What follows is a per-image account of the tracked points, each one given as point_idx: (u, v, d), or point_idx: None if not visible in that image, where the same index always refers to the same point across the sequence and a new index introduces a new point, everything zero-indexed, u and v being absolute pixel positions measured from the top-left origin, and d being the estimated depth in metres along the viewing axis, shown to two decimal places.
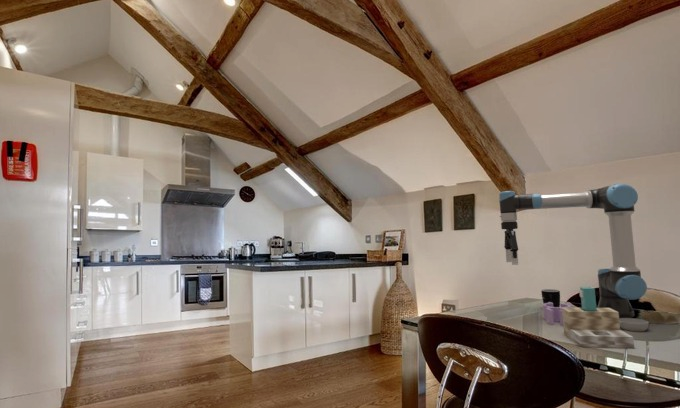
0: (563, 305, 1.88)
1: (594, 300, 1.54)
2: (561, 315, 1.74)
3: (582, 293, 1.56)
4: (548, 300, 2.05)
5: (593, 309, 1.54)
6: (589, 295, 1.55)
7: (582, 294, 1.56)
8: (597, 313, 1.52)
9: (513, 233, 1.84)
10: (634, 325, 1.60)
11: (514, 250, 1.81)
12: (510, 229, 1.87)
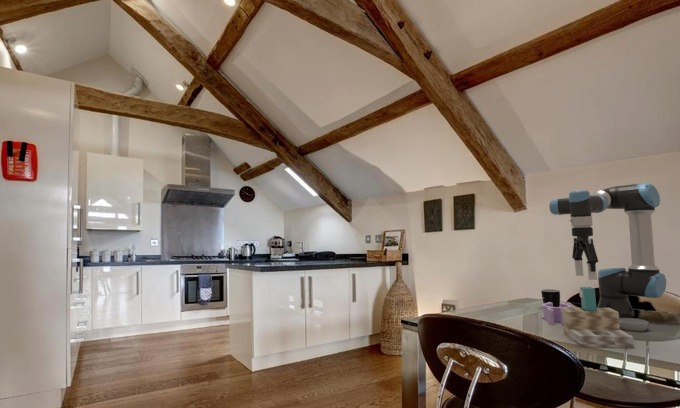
0: (563, 305, 1.88)
1: (594, 300, 1.54)
2: (562, 315, 1.74)
3: (582, 293, 1.56)
4: (548, 300, 2.05)
5: (593, 309, 1.54)
6: (589, 295, 1.55)
7: (582, 294, 1.56)
8: (597, 313, 1.52)
9: (590, 241, 1.51)
10: (634, 325, 1.60)
11: (593, 262, 1.49)
12: (585, 236, 1.55)
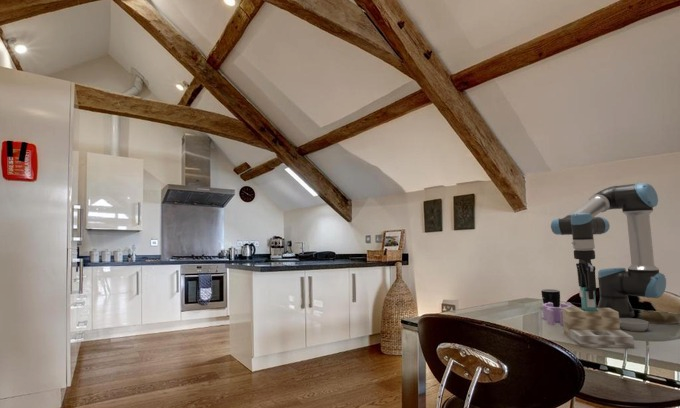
0: (563, 305, 1.87)
1: None
2: (561, 315, 1.74)
3: (582, 293, 1.56)
4: (548, 300, 2.05)
5: (593, 309, 1.54)
6: None
7: (582, 294, 1.56)
8: (597, 313, 1.52)
9: (592, 269, 1.51)
10: (634, 325, 1.60)
11: None
12: (587, 260, 1.54)
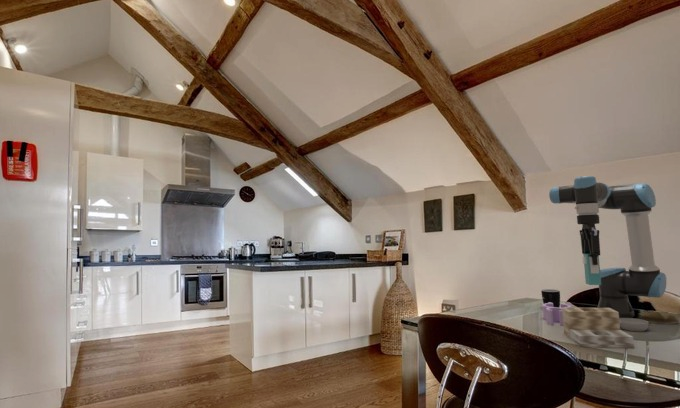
0: (563, 305, 1.87)
1: None
2: (561, 315, 1.74)
3: (585, 259, 1.50)
4: (548, 300, 2.05)
5: (597, 275, 1.48)
6: None
7: (585, 260, 1.50)
8: (597, 313, 1.52)
9: (596, 233, 1.45)
10: (634, 325, 1.60)
11: None
12: (591, 224, 1.48)
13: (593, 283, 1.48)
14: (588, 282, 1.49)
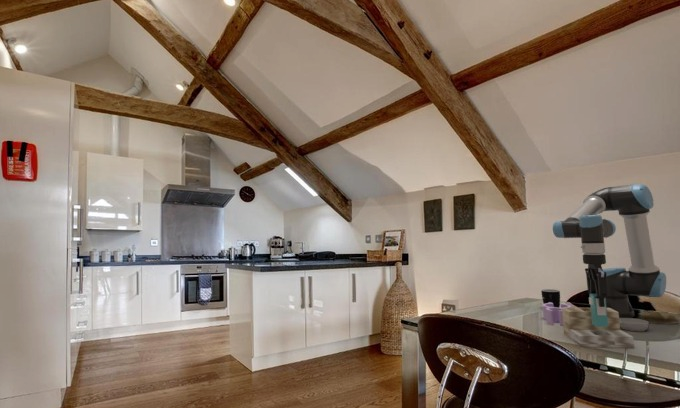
0: (563, 305, 1.87)
1: (605, 308, 1.45)
2: (560, 315, 1.73)
3: (592, 300, 1.47)
4: (548, 300, 2.05)
5: (604, 317, 1.45)
6: None
7: (592, 301, 1.47)
8: None
9: (603, 275, 1.42)
10: (634, 325, 1.60)
11: None
12: (597, 265, 1.45)
13: (600, 325, 1.45)
14: (595, 324, 1.46)
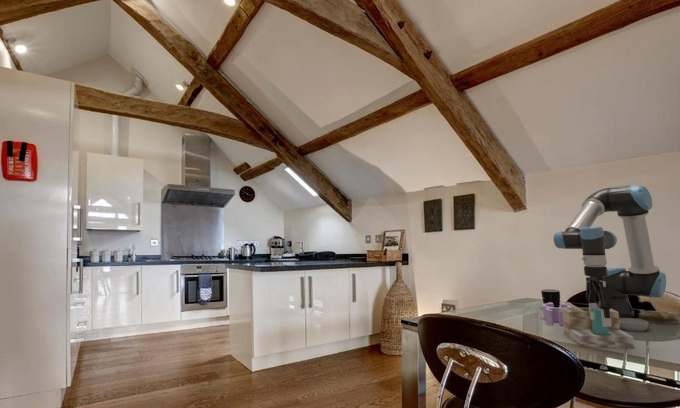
0: (563, 305, 1.87)
1: None
2: (560, 315, 1.73)
3: (593, 315, 1.46)
4: (548, 300, 2.05)
5: (605, 332, 1.44)
6: (601, 318, 1.45)
7: (593, 316, 1.46)
8: None
9: (605, 285, 1.41)
10: (634, 325, 1.60)
11: (607, 308, 1.39)
12: (599, 277, 1.44)
13: None
14: None
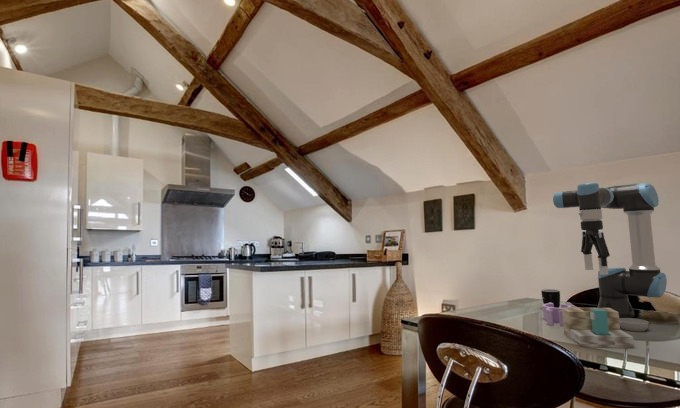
0: (563, 305, 1.86)
1: (606, 323, 1.44)
2: (560, 315, 1.73)
3: (593, 315, 1.46)
4: (548, 300, 2.05)
5: (605, 332, 1.44)
6: (601, 318, 1.45)
7: (593, 316, 1.46)
8: None
9: (601, 235, 1.47)
10: (634, 325, 1.60)
11: (604, 256, 1.45)
12: (595, 230, 1.51)
13: None
14: None
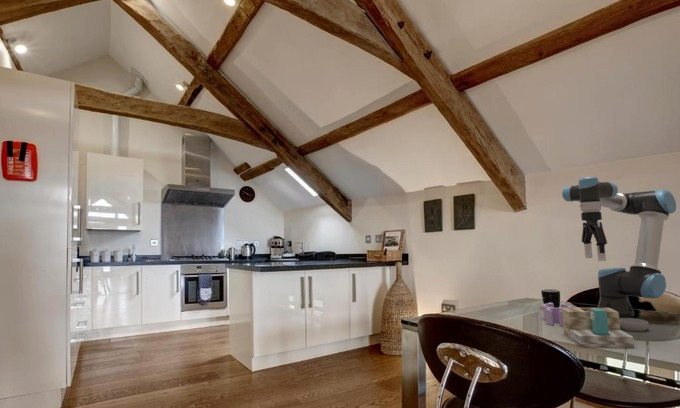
0: (563, 306, 1.86)
1: (606, 323, 1.44)
2: (561, 316, 1.73)
3: (593, 315, 1.46)
4: (548, 300, 2.05)
5: (605, 332, 1.44)
6: (601, 318, 1.45)
7: (593, 316, 1.46)
8: None
9: (599, 225, 1.61)
10: (634, 325, 1.60)
11: (602, 244, 1.58)
12: (594, 220, 1.64)
13: None
14: None
